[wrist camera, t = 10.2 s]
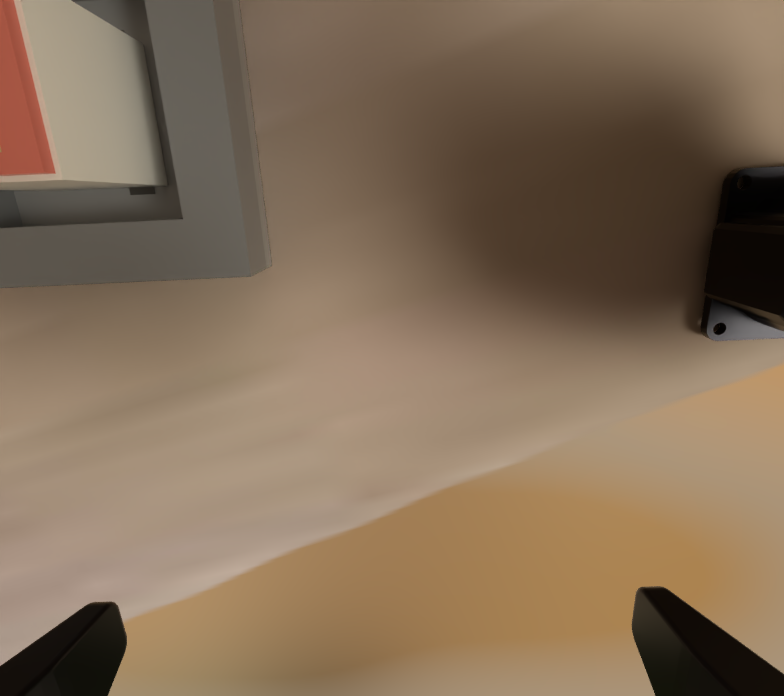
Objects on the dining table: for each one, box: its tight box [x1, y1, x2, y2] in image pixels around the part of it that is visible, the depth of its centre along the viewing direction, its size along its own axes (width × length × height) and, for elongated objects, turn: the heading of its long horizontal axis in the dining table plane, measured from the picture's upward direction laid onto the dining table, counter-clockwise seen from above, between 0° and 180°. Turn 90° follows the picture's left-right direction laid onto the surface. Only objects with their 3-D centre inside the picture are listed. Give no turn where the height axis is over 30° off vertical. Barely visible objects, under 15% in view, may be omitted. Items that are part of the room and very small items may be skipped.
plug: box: [0, 0, 168, 191], centre depth 14 cm, size 4×4×6 cm
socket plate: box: [0, 0, 272, 288], centre depth 16 cm, size 11×11×3 cm
